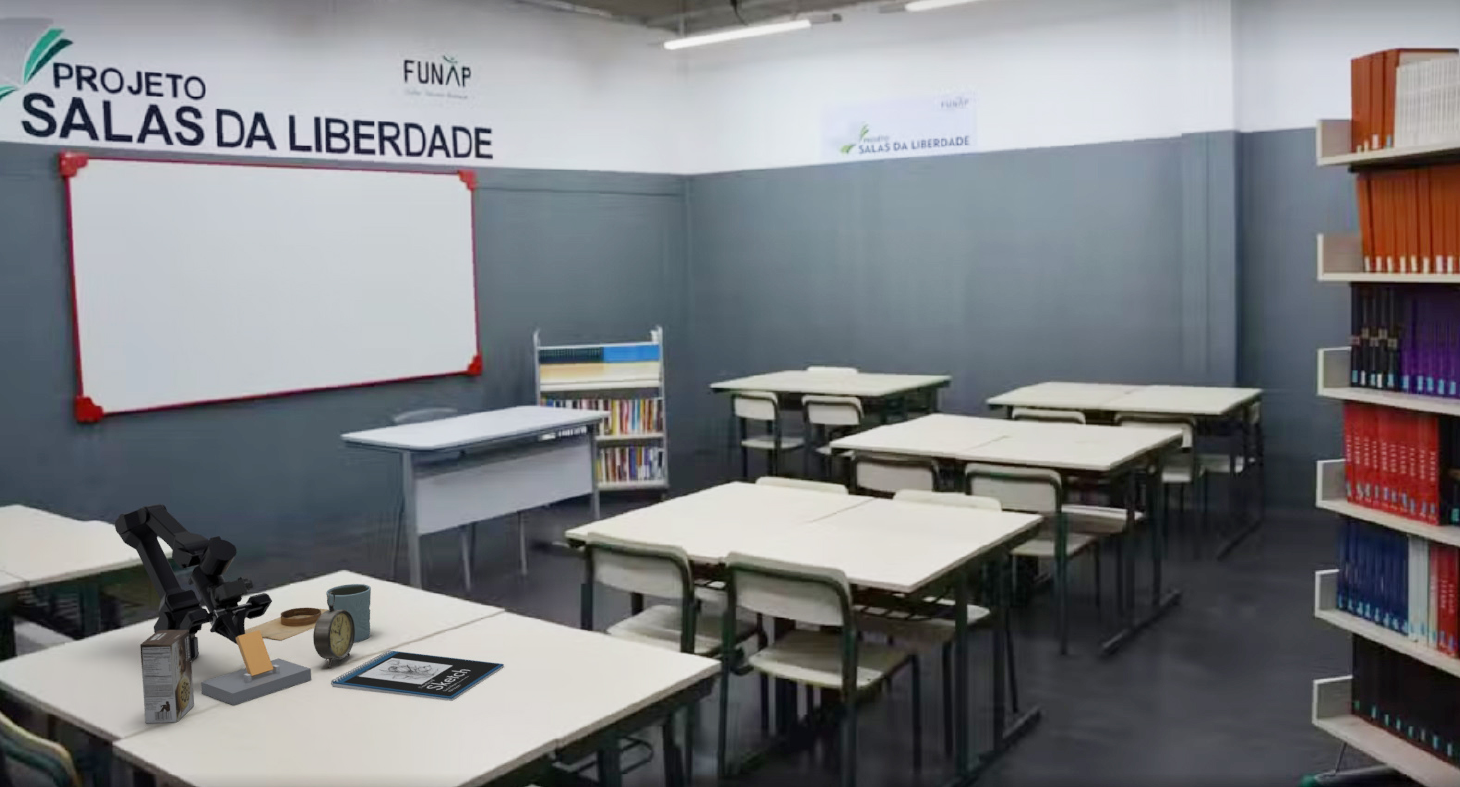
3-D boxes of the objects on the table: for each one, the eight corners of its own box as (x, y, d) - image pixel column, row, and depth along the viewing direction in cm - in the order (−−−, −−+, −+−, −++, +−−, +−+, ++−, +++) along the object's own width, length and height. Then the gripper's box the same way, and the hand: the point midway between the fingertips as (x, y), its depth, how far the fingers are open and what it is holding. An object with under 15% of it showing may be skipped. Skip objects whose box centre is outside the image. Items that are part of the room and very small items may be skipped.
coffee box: (162, 706, 233) (157, 629, 231) (195, 705, 233) (190, 628, 232) (143, 724, 224) (138, 643, 222) (177, 722, 224) (172, 642, 223)
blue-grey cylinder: (381, 635, 278) (379, 587, 277) (347, 646, 270) (345, 597, 269) (353, 629, 284) (351, 581, 283) (319, 640, 275) (317, 591, 274)
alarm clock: (332, 670, 253) (328, 599, 252) (310, 669, 254) (306, 598, 253) (357, 654, 264) (354, 586, 262) (336, 653, 265) (333, 585, 263)
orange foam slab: (249, 677, 241) (235, 638, 243) (270, 670, 245) (257, 631, 247) (251, 675, 240) (237, 636, 242) (273, 669, 244) (259, 630, 246)
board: (307, 609, 304) (306, 597, 303) (353, 615, 298) (352, 603, 298) (234, 637, 281) (233, 624, 280) (282, 643, 275) (282, 630, 275)
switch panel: (201, 693, 240) (200, 675, 240) (279, 669, 255) (278, 651, 254) (233, 705, 233) (232, 686, 233) (311, 679, 248) (310, 661, 247)
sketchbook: (451, 704, 234) (451, 694, 234) (328, 689, 244) (328, 680, 243) (504, 669, 255) (503, 660, 254) (388, 656, 264) (388, 647, 264)
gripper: (183, 575, 240) (215, 635, 234) (264, 557, 255) (296, 613, 249) (166, 606, 245) (197, 665, 240) (247, 586, 260) (277, 642, 255)
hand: (243, 645), depth 246 cm, fingers closed
